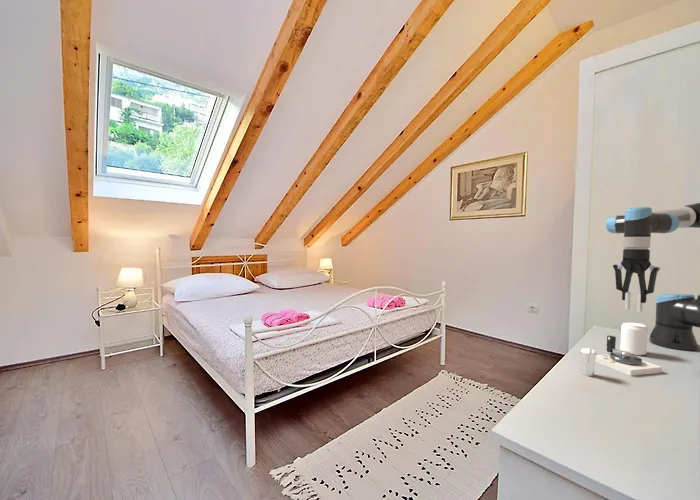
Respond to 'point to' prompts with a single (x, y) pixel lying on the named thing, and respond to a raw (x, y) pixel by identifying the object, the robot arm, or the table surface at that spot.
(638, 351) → the beverage can
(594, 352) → the milkshake
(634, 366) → the dial board
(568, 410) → the table surface
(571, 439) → the table surface
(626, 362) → the dial
